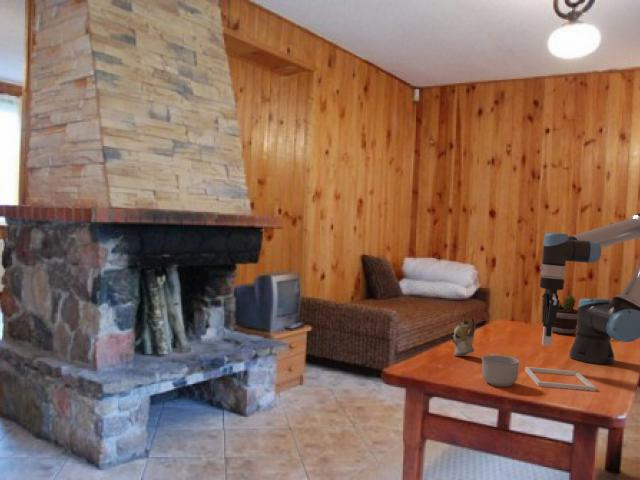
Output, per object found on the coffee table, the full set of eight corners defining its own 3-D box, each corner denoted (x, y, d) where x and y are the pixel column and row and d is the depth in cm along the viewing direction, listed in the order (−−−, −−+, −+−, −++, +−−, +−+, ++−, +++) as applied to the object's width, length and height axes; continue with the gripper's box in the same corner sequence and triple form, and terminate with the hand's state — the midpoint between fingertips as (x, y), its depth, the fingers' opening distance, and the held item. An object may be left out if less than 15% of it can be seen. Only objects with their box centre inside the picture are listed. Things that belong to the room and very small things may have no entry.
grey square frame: (576, 377, 187) (577, 371, 187) (595, 394, 168) (596, 387, 168) (525, 372, 189) (525, 366, 189) (537, 388, 171) (538, 381, 171)
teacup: (519, 391, 165) (521, 364, 165) (481, 387, 167) (483, 360, 167) (513, 378, 179) (515, 354, 178) (478, 375, 181) (479, 350, 181)
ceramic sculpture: (445, 352, 211) (448, 312, 210) (467, 353, 212) (470, 313, 211) (454, 359, 200) (457, 317, 200) (478, 360, 201) (480, 318, 200)
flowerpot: (539, 329, 271) (542, 288, 271) (569, 331, 273) (572, 290, 272) (555, 336, 257) (558, 292, 256) (586, 337, 259) (589, 294, 258)
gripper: (536, 274, 201) (531, 340, 201) (545, 278, 188) (539, 348, 188) (558, 276, 199) (552, 342, 200) (569, 280, 187) (563, 350, 187)
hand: (546, 345), depth 194 cm, fingers closed
